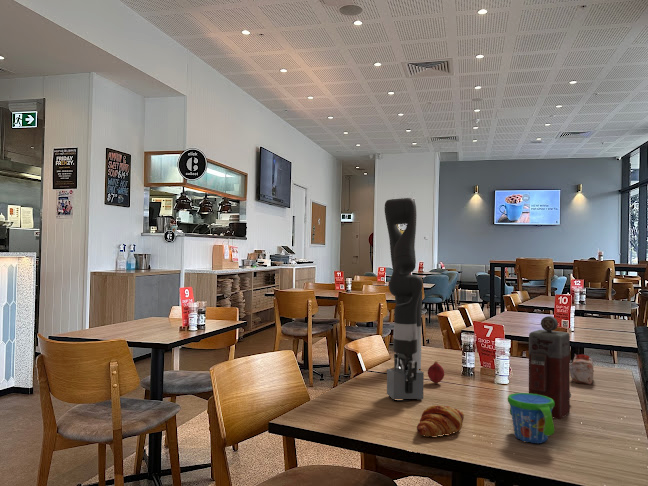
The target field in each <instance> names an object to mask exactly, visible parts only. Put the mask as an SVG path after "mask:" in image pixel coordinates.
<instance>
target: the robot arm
mask: <svg viewBox="0 0 648 486" xmlns="http://www.w3.org/2000/svg"><path fill="white" fill-rule="evenodd" d="M384 217H385V221H386V222H385V223H386V226H387V233H388V239H389V250H390V251H389V252H390V259H391V261H390V262H391V265H392V274H391V276H390V280H389V282H388V290H389V292H390V294H391V295H392V296H394V301H395V306H394V310H393V311H394V317H393V318H394V320H393V321H394V322H393V335H392V336H393V339H392V340H393V342H392V344H393V346H392V347H393V352H394V354H393V361H394V362H393V365H394V368H393V369H402V372H403V373H404V374H405V392H406V393H407V394H408V393H412V392H413V381H414V380H416V374H417V369H420V370H421V369H422V310H423V309H422V306H423V286H424V284H423V279H422V277H421V276H420V275H418V274H411V273H413V272H414V271H415V270H416V264H417V263H416V261H417V260H416V249H415V245H416V244H415V243H416V232H417V205H416V202H415V200H414V198H411V197H403V198H402V197H401V198H400V197H399V198H391V199H387V200H386V201H385V203H384ZM405 224H406V227H405V228H404V231H402V232H401V231H400V229H399V228H398V225H405ZM406 370H408V371H406ZM407 373H408V376H407ZM413 373H414V375H413ZM410 375H411V377H410Z"/></svg>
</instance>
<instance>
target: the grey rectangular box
mask: <svg viewBox="0 0 648 486" xmlns="http://www.w3.org/2000/svg"><path fill="white" fill-rule="evenodd" d="M406 371H408V370H406ZM424 373H425V372H424V371H422V370H421V369H420V370H418V369H417V374H416V380H414V381H413V392H412V393H408V394H407V393H406V392H405V374H404V373H403V372H402V369H394V368H386V395H387V394H388V395H389V396H390V397H391V398H392V399H394V400H395V399H417V400H424V383H425V382H424V381H425V380H424V376H425V375H424ZM413 375H414V373H413ZM407 376H408V373H407ZM410 377H411V375H410ZM389 396H388V397H389ZM390 397H389V398H390ZM391 398H390V399H391ZM392 399H391V400H392ZM394 400H393V401H394Z"/></svg>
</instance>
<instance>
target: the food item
mask: <svg viewBox="0 0 648 486" xmlns="http://www.w3.org/2000/svg"><path fill="white" fill-rule="evenodd" d="M594 373H595V370H594V361H593V358H591V356H589V355H587V354H584V353H581V354H576V353H574V357H573V359H572V360H570V378H571V380H572V381H573V382H574V383H576V384H582V385H583V384H584V385H592V383H593V381H594Z"/></svg>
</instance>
